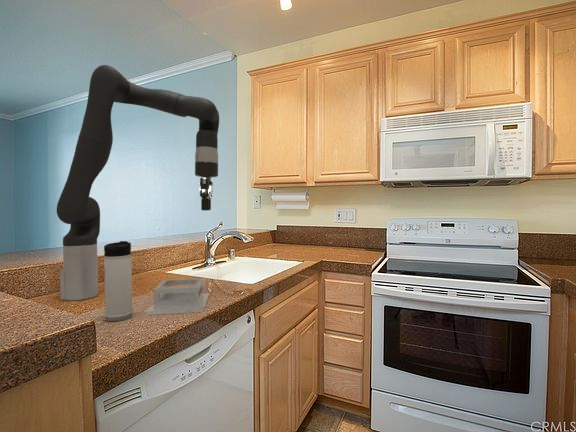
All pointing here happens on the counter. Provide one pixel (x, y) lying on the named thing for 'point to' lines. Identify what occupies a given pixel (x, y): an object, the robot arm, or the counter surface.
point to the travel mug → (118, 281)
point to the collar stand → (178, 297)
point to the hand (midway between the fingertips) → (206, 210)
